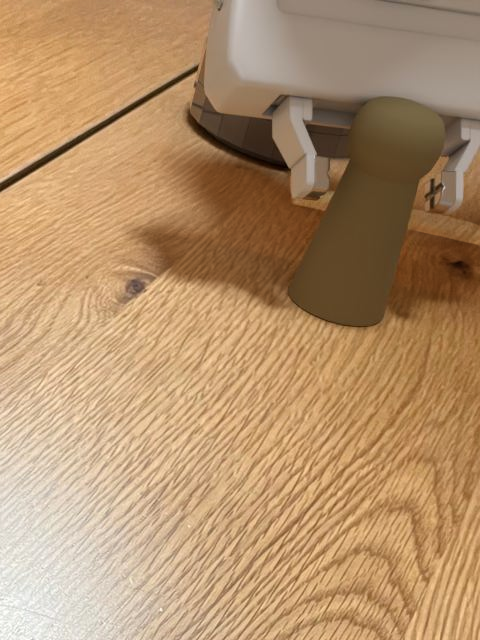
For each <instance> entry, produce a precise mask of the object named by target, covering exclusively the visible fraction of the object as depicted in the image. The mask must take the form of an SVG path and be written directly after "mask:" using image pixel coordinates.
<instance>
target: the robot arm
mask: <svg viewBox="0 0 480 640" xmlns="http://www.w3.org/2000/svg"><path fill="white" fill-rule="evenodd" d="M211 2H212V4H213V5H212V9H211V14H210V20H209V24H208V25H209V26H208V27H209V28H208V32H207V37H208V39H207V47H206V58H205V74H204V90H205V94H206V96H207V97H208V99H209V101H210V102H211V104H212V106H213V107H214V109H215V110H216V111H217V112H219V113H224V114H232V115H240V116H248V117H257V118H265V119H272V138H273V139H274V141H275V143H276V145H277V147H278V149H279V151H280V152H281V154H282V156H283V158H284V160H285V162H286V164H287V165H288V169H290V194H291V198H292V199H294V200H303V201H304V200H305V201H312V202H313V201H314V202H318V201H319V200H320V199H321V197H322V196H323V197H324V196H325V195H326V194H327V193H328V191H329V188H330V185H331V184H330V183H331V177H330V176H329V172H330V170H331V158H330V157H324V156H317V153H316V151H315V149H314V146H313V144H312V141H311V139H310V137H309V134H308V132H307V130H306V127H305V126H306V125H307V124H313V125H321V126H329V127H337V128H345V129H350V128H351V125H352V122H353V119H354V118H355V116H356V114H357V113H358V111H359V109H361V108H362V107H363V106H364V105H365V104H366V103H367V102H368V101H369V100H370V99H373V98H376V97H381V96H391V97H400V98H405V99H409V100H413V101H415V102H418V103H420V104H422V105H425V106H426V107H428V108H430V109H432V110H433V111H435V112H436V113H437V114H438V115H439V116H440V117H441V119H442V120H443V121H444V127H445V135H446V137H445V143H444V148H443V150H442V153H441V155H440V157H441V158H447V160H446V163H445V164H444V166H443V169H442V170H440V171H439V172H437V173H436V174H435V175H434V177H433V178H430V179H428V180H427V181H426V182H424V183H423V197H424V199H425V201H424V202H423V211H424V213H427V214H434V215H435V214H436V215H442V216H443V215H444V216H449V215H451V214H452V213H454V212H455V211H457V210H458V209H459V208H461V206H462V204H463V201H464V187H465V186H464V181H465V180H464V178H465V177H464V176H465V174H466V173H467V171H468V169H469V167H470V166H471V164H472V162H473V161H474V158H475V156H476V155H477V153H478V151H479V149H480V0H211Z"/></svg>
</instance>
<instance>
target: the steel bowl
mask: <svg viewBox="0 0 480 640" xmlns="http://www.w3.org/2000/svg"><path fill="white" fill-rule="evenodd" d="M207 39H208V36H206V38H205V40H204V44H203V48H202V52H201V55H200V59H199V63H198V67H197V72H196V75H195V79H194V83H193V87H192V91H191V95H190V99H189V113H190V115H191V116H192V117H193V119H194V120H195V121H196V122H197V123H198V125H200V126H201V127H202V128H203V129H204V130H205V131H206V132H207V133H208V134H209V135H210V136H212V137H213V138H214V139H215V140H217V141H218V142H220V143H222V144H224V145H225V146H227V147H229V148H231V149H233V150H235V151H237V152H239V153H241V154H243V155H246V156H249V157H252V158H255V159H258V160H260V161H264V162H268V163H271V164H274V165H278V166H283V167H288V165H287V164H286V162H285V160H284V158H283V156H282V154H281V152H280V151H279V149H278V147H277V145H276V143H275V141H274V139H273V138H272V119H265V118H257V117H248V116H240V115H232V114H224V113H219V112H217V111H216V110H215V109H214V107H213V106H212V104H211V102H210V101H209V99H208V97H207V96H206V94H205V90H204V74H205V58H206V47H207ZM305 127H306V130H307V132H308V134H309V137H310V139H311V141H312V144H313V146H314V149H315V151H316V153H317V156H324V157H330V159H338V158H339V159H341V158H342V159H343V158H350V154H349V150H348V138H349V131H350V129H345V128H337V127H329V126H321V125H313V124H307V125H306V126H305ZM288 168H289V167H288Z"/></svg>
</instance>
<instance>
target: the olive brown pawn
mask: <svg viewBox="0 0 480 640" xmlns="http://www.w3.org/2000/svg"><path fill="white" fill-rule="evenodd" d="M445 137H446V135H445V127H444V121H443V120H442V119H441V117H440V116H439V115H438V114H437V113H436V112H435V111H433V110H432V109H430V108H428V107H426V106H425V105H422V104H420V103H418V102H415V101H413V100H409V99H405V98H400V97H391V96H381V97H376V98H373V99H370V100H369V101H368V102H367V103H366V104H365V105H364V106H363V107H362V108H361V109H359V111H358V113H357V114H356V116H355V118H354V119H353V122H352V125H351V128H350V131H349V138H348V150H349V154H350V157H349V160H348V163H347V164H346V167H345V168H344V170H343V174H341V177H340V179H339V181H338V183H337V185H336V187H335V190H334V192H333V194H332V196H331V198H330V200H329V202H328V204H327V206H326V208H325V210H324V212H323V214H322V216H321V218H320V220H319V222H318V225H317V226H316V229H315V231H314V233H313V235H312V236H311V239H310V241H309V243H308V245H307V247H306V250H305V252H304V253H303V256H302V258H301V259H300V261H299V264H298V266H297V268H296V270H295V272H294V274H293V276H292V278H291V280H290V283H289V284H288V286H287V294H288V296H289V297H290V299H291V301H292V302H294V304H296V305H297V306H298V307H299V308H300V309H302V310H304V311H306V312H307V313H309V314H311V315H313V316H314V317H318V318H319V319H323V320H325V321H328V322H330V323H335V324H339V325H344V326H350V327H371V326H374V325H377V324H379V323H380V322H382V320H383V319H384V317H385V314H386V310H387V306H388V302H389V298H390V294H391V291H392V286H393V284H394V279H395V275H396V272H397V268H398V265H399V264H398V263H399V260H400V256H401V253H402V250H403V245H404V243H405V237H406V233H407V231H408V227H409V222H410V218H411V215H412V211H413V207H414V203H415V200H416V196H417V192H418V188H419V184H420V181H421V180H422V179H423V178H424V177H425V176H426V175H428V174H429V173H431V171H432V170H433V168H434V167H435V165H436V164H437V162H438V161H439V160H440V157H441V156H440V155H441V153H442V150H443V148H444V143H445Z"/></svg>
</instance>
